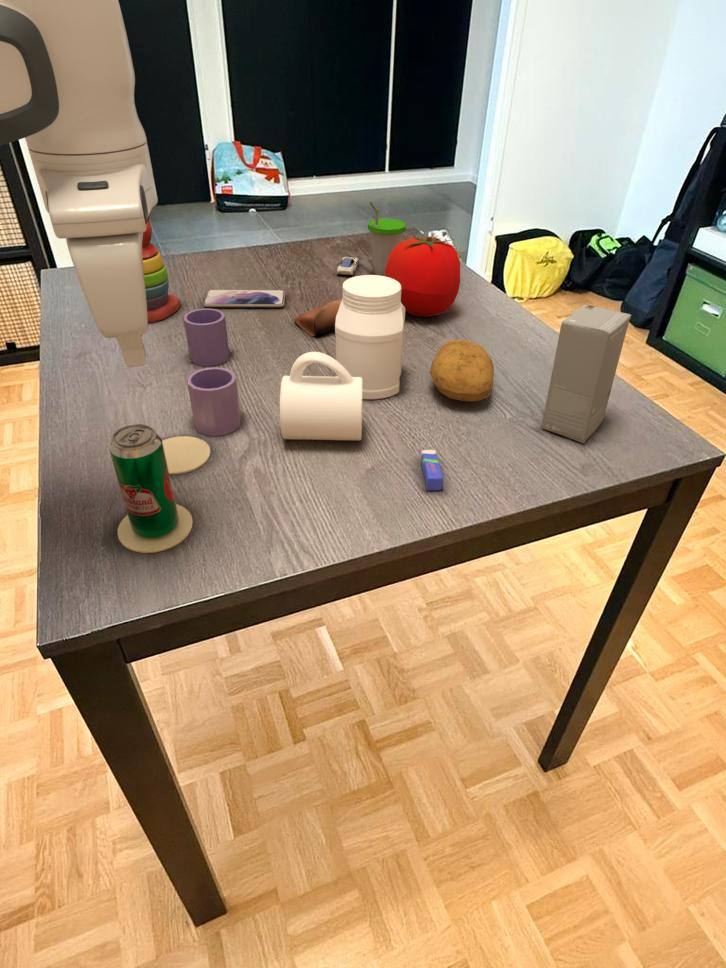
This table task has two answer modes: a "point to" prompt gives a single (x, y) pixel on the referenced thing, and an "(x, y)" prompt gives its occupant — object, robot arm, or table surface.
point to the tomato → (425, 274)
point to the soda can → (144, 480)
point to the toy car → (347, 266)
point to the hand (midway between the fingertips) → (135, 340)
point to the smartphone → (245, 298)
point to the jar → (371, 333)
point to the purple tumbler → (214, 401)
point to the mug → (320, 402)
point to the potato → (463, 371)
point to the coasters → (180, 459)
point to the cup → (384, 239)
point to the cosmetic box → (584, 371)
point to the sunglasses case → (319, 318)
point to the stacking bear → (156, 281)
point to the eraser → (431, 470)
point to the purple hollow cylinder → (207, 336)
